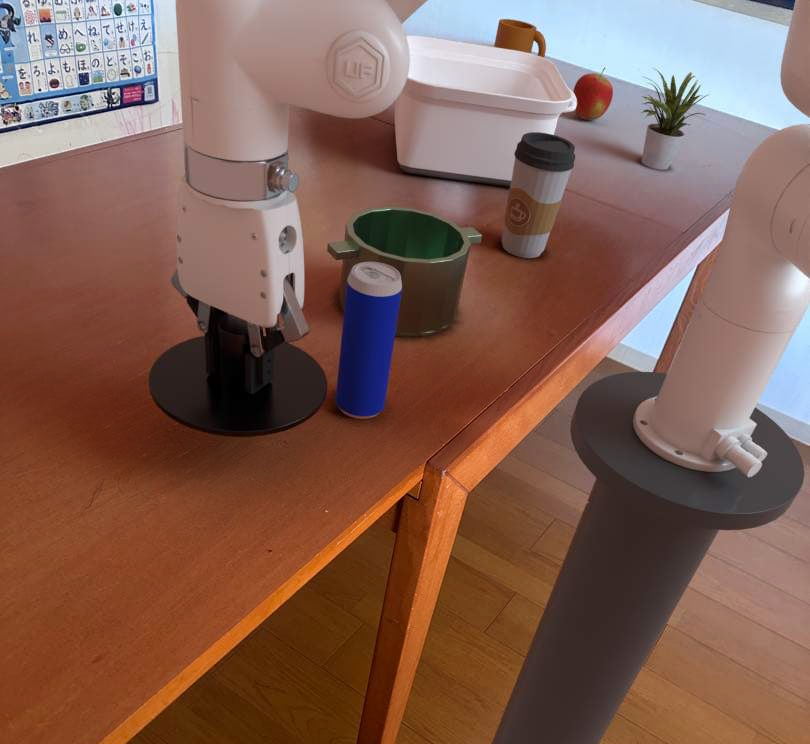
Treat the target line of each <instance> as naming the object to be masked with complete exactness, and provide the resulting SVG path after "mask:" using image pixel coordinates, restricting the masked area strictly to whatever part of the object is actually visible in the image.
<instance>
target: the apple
mask: <svg viewBox="0 0 810 744" xmlns="http://www.w3.org/2000/svg"><path fill="white" fill-rule="evenodd" d="M605 69H606V67H603V69H602V72H601V73H600V74H599V73H585V74H583V75H582V76H580V77H579V78H578V79H577V81H576V82H575V85H574V88H573V90H572V91H573V93H574V94H575V96H576V99H577V106H576V109H575V110H574V113H575V114H576V116H577V117H578V118H580V119H582V120H587V121H594V120H598V119H600V118H601V117H602V116H604V114H606V112H607V111H608V110H609V107H610V106H611V103H612V100H613V96H614V89H613V85H612V83H611V82H610V80H609V79H607V78H606V76H603V73H604V71H605Z"/></svg>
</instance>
